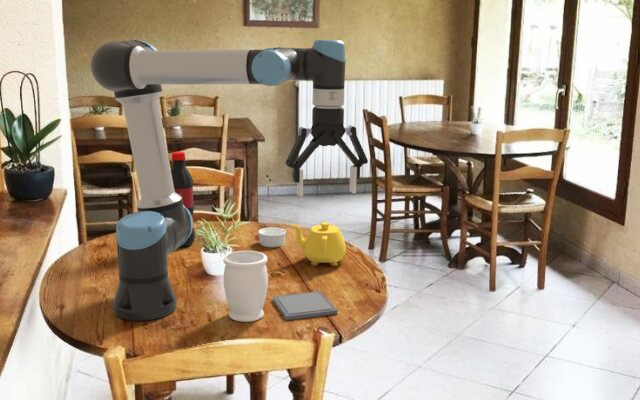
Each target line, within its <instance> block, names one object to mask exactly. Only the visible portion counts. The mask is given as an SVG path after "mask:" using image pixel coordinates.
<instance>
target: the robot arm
mask: <svg viewBox="0 0 640 400" xmlns="http://www.w3.org/2000/svg"><path fill="white" fill-rule="evenodd" d="M312 44H313V45H312V47H309V48H308V47H307V48H303V47H302V48H300V47H281V46H274V47H266V48H265V49H187V50H186V49H181V50H180V49H179V50H178V49H175V50H174V49H172V50H170V49H167V50H162V49H161V50H158V49H157V48H156V47H155V46H154V45H153V44H151V43H149V42H147V41H143V40H139V39H135V40H134V39H129V40H121V41H120V40H118V41H117V40H116V41H115V40H113V41H107V42H106V43H104V44H101V45H100V46H98V47H97V48H96V50H95V51H94V52H93V54H92V57H91V60H90V71H91V74H92V78H94V80H95V81H96V82H97V83H98V85H100V87H102V88H104V89H105V90H108V91H111V92H113V94H114V99H115V101H117V102H119V104H121V105H122V108H123V112H124V118H125V122H126V128H127V132H128V133H127V134H128V137H129V139H128V140H129V142H130V143H129V144H130V149H131V153H132V158H133V164H134V168H135V172H136V177H137V183H138V187H139V193H140V199H139V200H138V202H137V204H136V208H137V211H136V212H134V213H129V214H126V215H125V216H123V217H122V218H120V219H119V220H118V221H117V223H116V226H115V228H116V229H115V230H116V231H115V242H116V252H117V255H116V256H117V267H118V268H117V269H118V285H117V288H116V290H115V291H116V292H115V295H114V299H113V304H112V306H113V314H114V315H115V316H116V317H117V318H119V319H122V320H126V321H132V322H142V321H143V322H144V321H145V322H146V321H151V320H152V321H153V320H157V319H161V318H164V317H167V316H168V315H171V314H173V312H175V311H176V309H177V304H178V303H177V295H176V293H175V291H174V289H173V285H172V283H171V281H170V278H169V270H168V266H169V264H168V262H169V261H168V256H170V255H171V254H172V253H174V251H176V250H177V249H179V248H181V247H180V246H182V245H183V244H184V243H185V242H186V240H187V239H188V238H189V236H190V234H191V232H192V228H193V229H194V221H193V219H192V216H191V214H190V212H189V210H188V209H187V208H185V207H184V205H183V201H182V197H181V196H180V195H178V194H177V193H176V192H175V190H174V185H173V180H172V174H171V165H170V159H169V154H168V149H167V144H166V138H165V131H164V128H163V123H162V117H161V111H160V106H159V101H158V100H159V98H160V96H161V95H162V94H163V89H162V85H264V86H266V87H267V86H268V87H271V86H272V87H274V86H275V87H276V86H279V85H281V84H282V83H285V82H288V81H307V82H308V81H312V100H311V101H312V105H313V106H314V107H313V108H312V113H311V114H312V119H311V120H312V121H311V123H312V125H311V128H309V127H308V128H307V127H303V126H299V128H298V133H297V134H298V135H297V138H296V140H295V142H294V144H293V146H292V148H291V150H290V153H289V154H288V157H287V158H286V160H285V165H286V166H287V167H289V168H291V169H292V180H293V182H294V183H295V184H296V195H297V196H298V197H304V169H303V168H302V167H303V165H305V163H306V162H307V161H308V159H309V158H310V156H312V154H313V153H314V152H315V151H316V149H318V148H319V147H320V146H321V147H328V146H332V147H335V146H336V145H337V146H338V147H339V148H340V150H341V151H342V152H343V153H344V154H345V156H346V157H347V158H348V159H349V160H350V161H351V163H352V165H350V166H349V192H351V193H352V194H356V193H357V180H360V178H361V167H362V166H363V165H366V164H368V163H369V161H368V158H367V156H366V153H365V150H364V149H363V147H362V144H361V142H360V140H359V138H358V137H359V136H358V135H357V134H358V132H357V127H355V126H353V125H349V126H344V123H345V122H344V121H345V109H344V108H343V106H345V81H346V61H347V60H346V44H345V43H344V41H342V40H339V39H315V40H314V41H313V43H312ZM345 134H346V135H347V136H348V137H349V140H350V142H351V144H352V146H353V149H354V151H355V152H356V155H357V156H356V155H355V153H353V152H352V150H351V149H350V147H349V146H348V145H347V144H346V142H345V141H344V140H343V136H345ZM309 135H311V136H312V137H313V138H312V139H311V140H310V141H309V144H308V145H307V146H306V147H305V148H304V150H303V151H302V153H301V154H300V152H301V150H302V147H303V146H304V145H305V142H306V139H307V138H308V137H309ZM299 154H300V155H299Z"/></svg>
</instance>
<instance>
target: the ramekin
mask: <svg viewBox="0 0 640 400" xmlns="http://www.w3.org/2000/svg"><path fill="white" fill-rule="evenodd" d="M257 233H258V237H259V239H258V240H259V244H260V245H261V246H262V247H265V248H280V247H282V246H284V245H285V243H286V241H285V240H286V234H287V231H286V229H284V228H280V227H275V226H274V227H272V226H271V227H263V228H261V229H259V230H258V232H257Z"/></svg>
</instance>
